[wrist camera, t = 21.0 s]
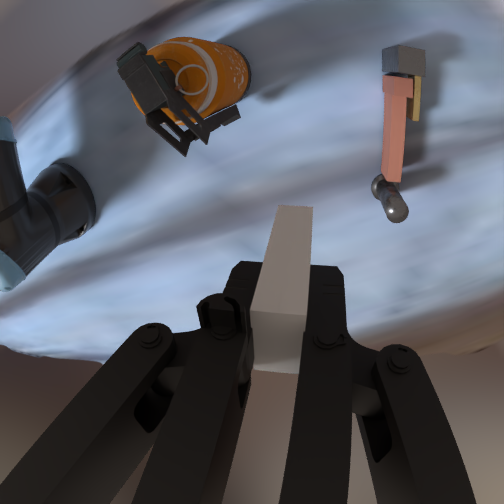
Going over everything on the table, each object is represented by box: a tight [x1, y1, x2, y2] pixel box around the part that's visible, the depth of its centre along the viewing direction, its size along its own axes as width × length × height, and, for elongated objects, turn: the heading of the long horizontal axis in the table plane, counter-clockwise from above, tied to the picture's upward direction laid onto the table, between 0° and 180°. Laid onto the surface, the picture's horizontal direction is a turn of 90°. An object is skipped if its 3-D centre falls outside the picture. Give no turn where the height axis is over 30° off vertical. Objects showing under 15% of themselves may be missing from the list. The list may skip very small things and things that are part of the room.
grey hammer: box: [382, 45, 425, 121], centre depth 28 cm, size 4×8×8 cm, turn 3°
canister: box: [116, 37, 251, 157], centre depth 28 cm, size 9×11×20 cm
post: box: [371, 174, 409, 223], centre depth 36 cm, size 4×4×8 cm
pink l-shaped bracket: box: [381, 75, 413, 182], centre depth 32 cm, size 2×13×6 cm, turn 4°
